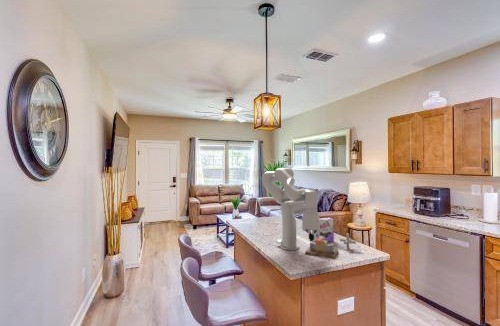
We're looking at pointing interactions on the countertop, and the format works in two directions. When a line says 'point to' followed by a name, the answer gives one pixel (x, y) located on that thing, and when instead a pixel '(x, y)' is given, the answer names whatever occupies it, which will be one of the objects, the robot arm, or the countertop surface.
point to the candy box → (326, 229)
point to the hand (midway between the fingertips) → (311, 240)
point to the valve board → (321, 254)
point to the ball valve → (322, 247)
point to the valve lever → (319, 240)
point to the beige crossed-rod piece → (347, 241)
